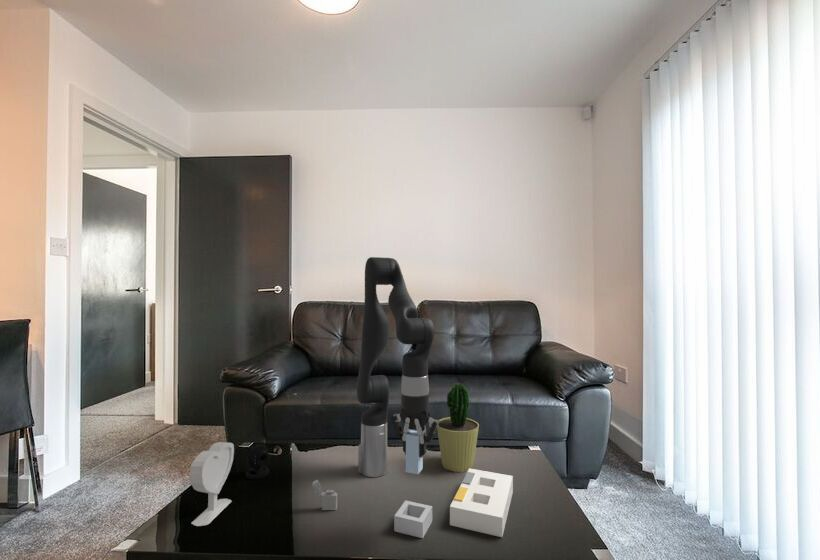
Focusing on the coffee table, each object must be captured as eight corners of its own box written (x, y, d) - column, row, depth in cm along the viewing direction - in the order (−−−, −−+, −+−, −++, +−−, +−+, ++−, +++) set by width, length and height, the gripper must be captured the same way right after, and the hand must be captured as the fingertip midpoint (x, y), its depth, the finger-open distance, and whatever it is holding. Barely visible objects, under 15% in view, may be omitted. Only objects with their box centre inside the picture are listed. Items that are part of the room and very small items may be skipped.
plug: (405, 472, 103) (405, 434, 104) (410, 466, 107) (410, 429, 107) (418, 474, 102) (418, 436, 102) (422, 468, 106) (423, 431, 106)
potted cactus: (449, 452, 151) (449, 375, 152) (485, 462, 142) (485, 381, 143) (428, 466, 139) (428, 383, 140) (466, 479, 130) (466, 389, 131)
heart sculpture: (203, 528, 102) (205, 460, 103) (186, 527, 103) (187, 459, 103) (235, 497, 118) (236, 438, 118) (220, 496, 118) (221, 437, 119)
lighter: (337, 507, 113) (337, 479, 113) (336, 510, 111) (336, 482, 111) (313, 506, 113) (313, 479, 113) (311, 510, 111) (311, 482, 111)
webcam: (254, 482, 127) (255, 451, 127) (240, 476, 131) (241, 446, 131) (274, 472, 134) (274, 443, 134) (260, 467, 138) (260, 439, 138)
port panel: (449, 525, 104) (449, 504, 105) (469, 483, 127) (469, 467, 127) (502, 537, 99) (502, 516, 100) (512, 491, 122) (512, 474, 122)
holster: (394, 531, 102) (394, 515, 102) (405, 514, 109) (405, 500, 109) (422, 538, 99) (422, 522, 99) (432, 520, 106) (432, 506, 106)
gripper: (385, 392, 104) (385, 456, 104) (435, 397, 99) (435, 465, 98) (396, 385, 111) (396, 445, 111) (443, 390, 106) (443, 453, 105)
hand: (414, 454), depth 105 cm, fingers closed on plug, 3 cm apart
